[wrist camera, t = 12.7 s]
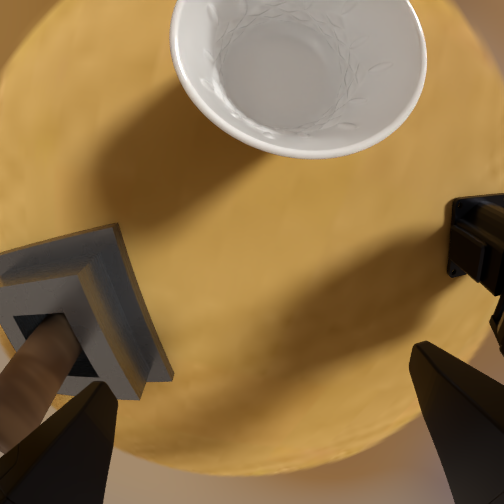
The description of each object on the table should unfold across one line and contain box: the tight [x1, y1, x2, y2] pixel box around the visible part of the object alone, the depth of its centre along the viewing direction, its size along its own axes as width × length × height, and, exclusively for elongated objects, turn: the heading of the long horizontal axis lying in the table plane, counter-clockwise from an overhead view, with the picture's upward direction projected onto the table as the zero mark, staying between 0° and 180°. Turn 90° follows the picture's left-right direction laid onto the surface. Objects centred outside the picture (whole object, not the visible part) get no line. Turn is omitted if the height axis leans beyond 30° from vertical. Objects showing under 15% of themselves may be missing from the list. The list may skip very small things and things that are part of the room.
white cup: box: [170, 0, 427, 159], centre depth 11 cm, size 8×8×10 cm
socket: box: [0, 223, 174, 400], centre depth 20 cm, size 14×14×4 cm
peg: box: [0, 313, 83, 454], centre depth 16 cm, size 4×4×13 cm
